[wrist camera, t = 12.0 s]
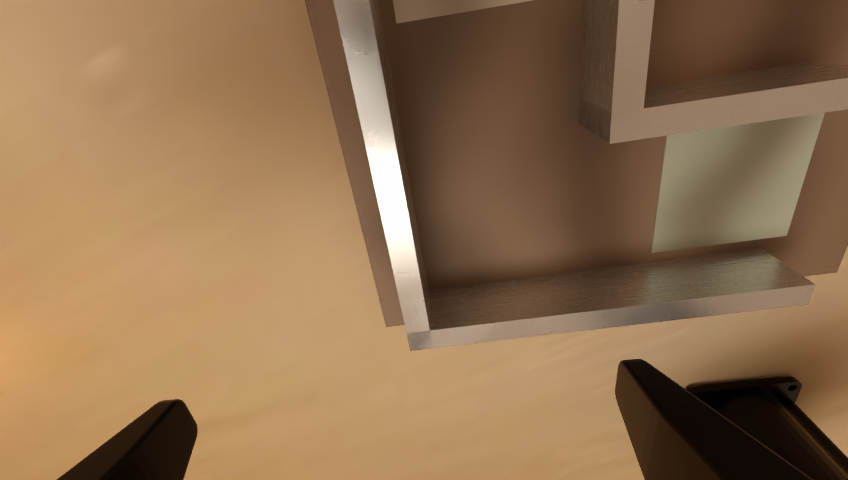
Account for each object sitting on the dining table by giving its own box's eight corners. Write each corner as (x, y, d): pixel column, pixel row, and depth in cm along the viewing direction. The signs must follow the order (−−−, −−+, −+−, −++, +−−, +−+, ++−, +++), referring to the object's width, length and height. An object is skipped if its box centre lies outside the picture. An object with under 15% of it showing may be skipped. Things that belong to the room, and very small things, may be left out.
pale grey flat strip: (1037, -358, 11) (1105, -399, 10) (815, 259, 21) (838, 273, 20) (265, -196, 13) (250, -217, 12) (387, 311, 22) (385, 327, 21)
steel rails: (921, -330, 11) (1085, -444, 8) (755, 265, 19) (807, 304, 17) (307, -202, 12) (274, -265, 9) (411, 307, 20) (410, 350, 18)
